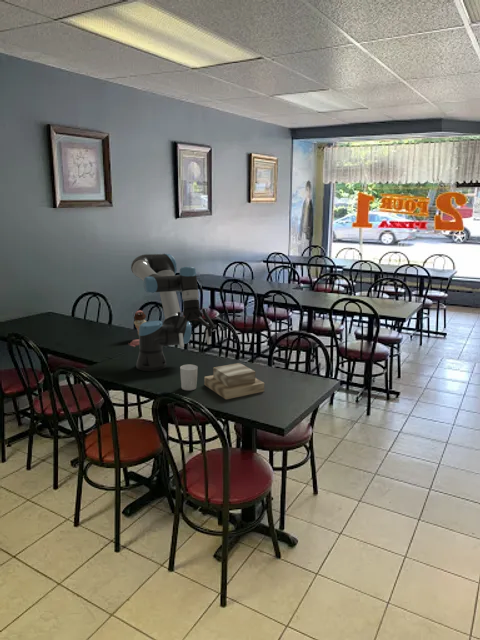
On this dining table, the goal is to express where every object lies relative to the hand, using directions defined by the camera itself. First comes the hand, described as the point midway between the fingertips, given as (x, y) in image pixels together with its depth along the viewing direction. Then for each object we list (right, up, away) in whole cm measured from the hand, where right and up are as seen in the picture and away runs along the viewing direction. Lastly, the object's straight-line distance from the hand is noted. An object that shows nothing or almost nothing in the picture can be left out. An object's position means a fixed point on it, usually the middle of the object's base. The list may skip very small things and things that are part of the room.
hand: (195, 345), depth 231 cm
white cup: (-3, -19, -2) cm, 20 cm away
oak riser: (+18, -19, -1) cm, 26 cm away
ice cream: (-41, -1, +70) cm, 81 cm away
